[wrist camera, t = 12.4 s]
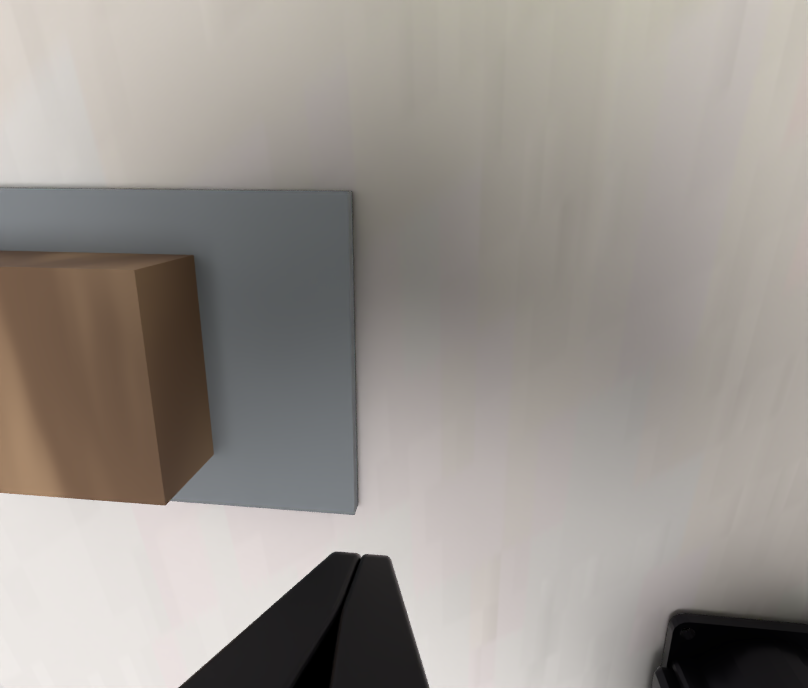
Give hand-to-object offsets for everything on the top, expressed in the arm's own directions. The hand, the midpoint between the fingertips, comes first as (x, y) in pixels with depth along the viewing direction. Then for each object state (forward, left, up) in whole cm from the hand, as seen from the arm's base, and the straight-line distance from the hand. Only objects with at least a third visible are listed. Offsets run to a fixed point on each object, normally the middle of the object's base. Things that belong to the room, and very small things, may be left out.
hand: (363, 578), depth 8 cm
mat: (+9, 0, -11) cm, 14 cm away
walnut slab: (+7, 0, -8) cm, 11 cm away
